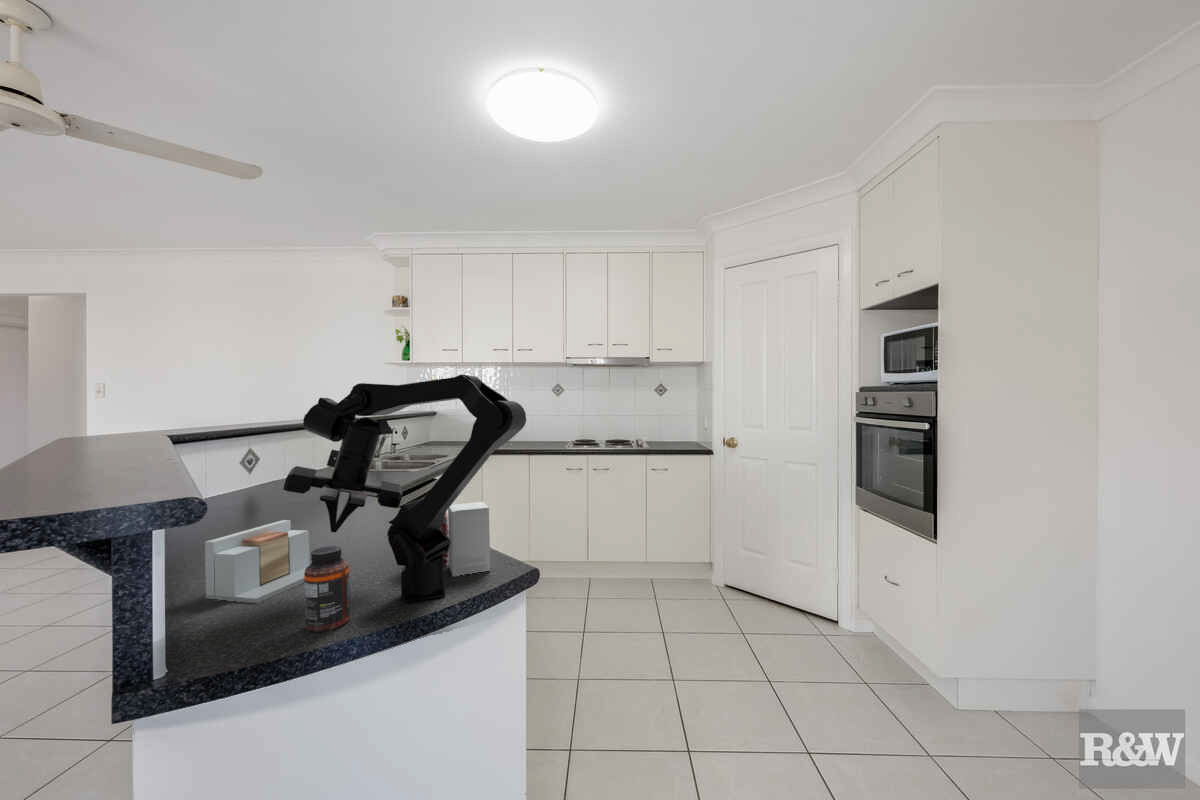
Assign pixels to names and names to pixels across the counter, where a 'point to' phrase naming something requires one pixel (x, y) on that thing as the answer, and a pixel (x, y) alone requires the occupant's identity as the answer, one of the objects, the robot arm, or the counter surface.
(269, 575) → the push block
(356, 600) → the counter surface
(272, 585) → the mount
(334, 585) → the supplement bottle
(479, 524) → the supplement box
